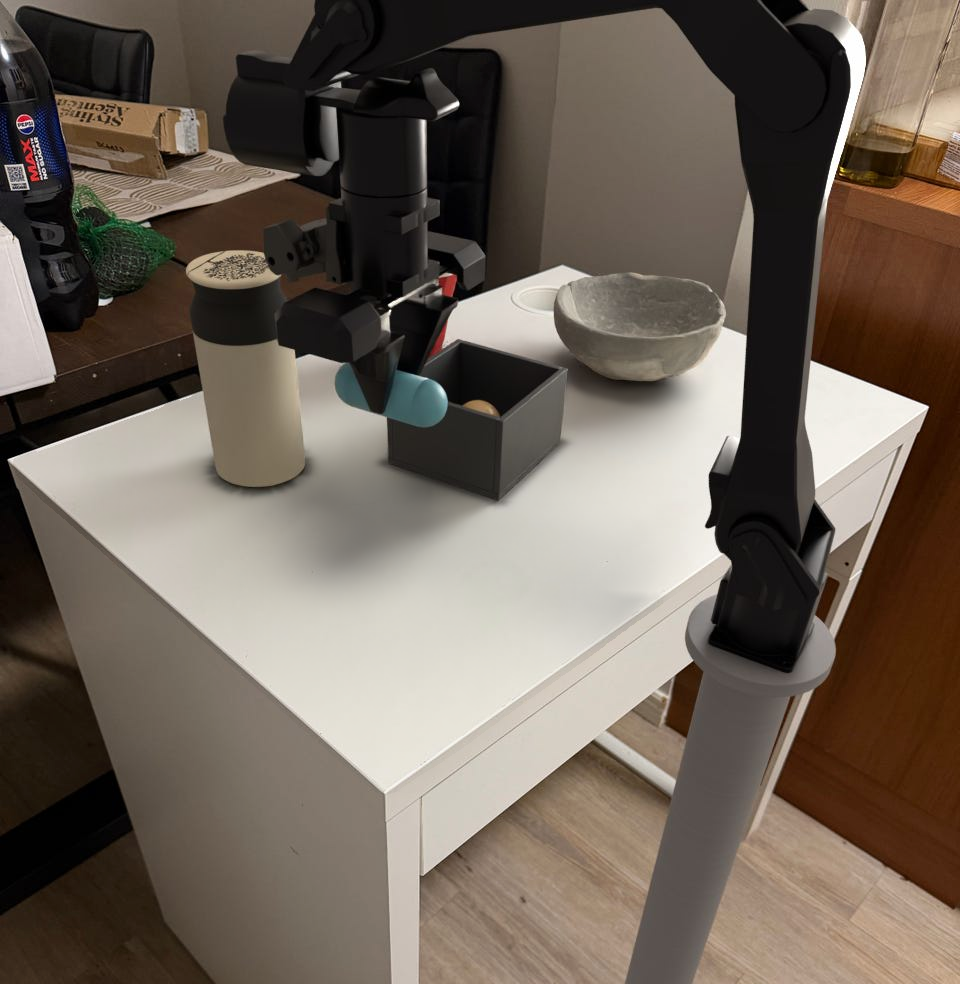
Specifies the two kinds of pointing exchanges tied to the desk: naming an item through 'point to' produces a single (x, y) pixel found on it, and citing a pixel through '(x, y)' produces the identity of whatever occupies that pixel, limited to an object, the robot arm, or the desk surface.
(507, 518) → the desk surface
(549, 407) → the wastebin
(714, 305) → the bowl
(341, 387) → the teal capsule pill
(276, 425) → the travel mug
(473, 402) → the orange ball
